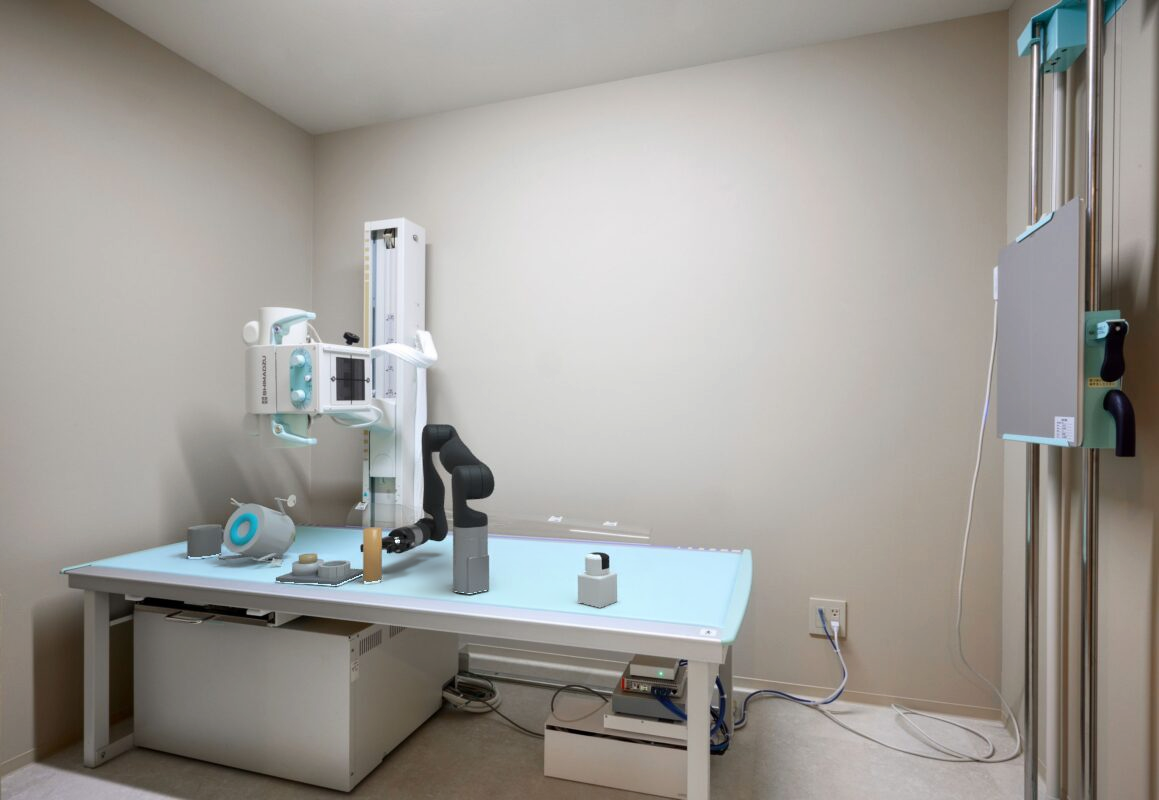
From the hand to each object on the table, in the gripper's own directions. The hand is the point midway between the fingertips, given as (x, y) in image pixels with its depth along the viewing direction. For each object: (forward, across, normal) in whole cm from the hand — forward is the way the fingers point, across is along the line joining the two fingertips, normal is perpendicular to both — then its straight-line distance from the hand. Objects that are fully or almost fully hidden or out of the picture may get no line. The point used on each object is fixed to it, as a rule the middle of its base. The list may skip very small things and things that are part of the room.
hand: (374, 549), depth 170 cm
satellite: (-13, -52, +9) cm, 55 cm away
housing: (+1, -16, +9) cm, 19 cm away
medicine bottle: (+5, +66, +9) cm, 67 cm away
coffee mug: (-17, -77, +9) cm, 79 cm away
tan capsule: (+1, 0, +9) cm, 9 cm away
